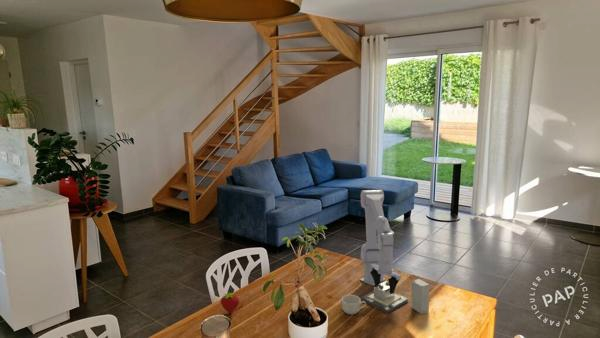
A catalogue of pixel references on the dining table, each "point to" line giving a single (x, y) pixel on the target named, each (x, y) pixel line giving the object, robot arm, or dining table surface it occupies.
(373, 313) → the dining table surface
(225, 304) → the strawberry
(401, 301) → the stand
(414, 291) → the skincare box
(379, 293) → the block
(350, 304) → the teacup
